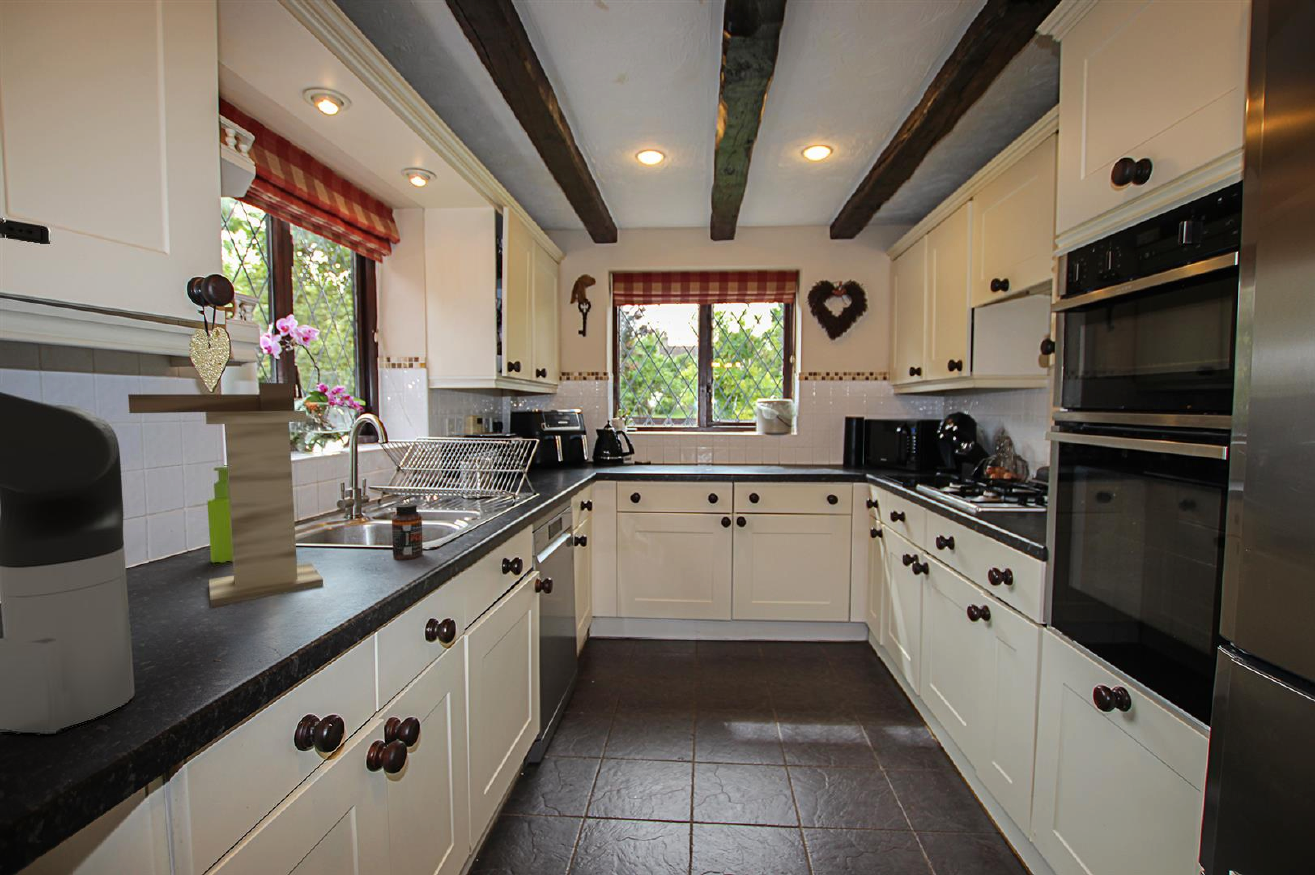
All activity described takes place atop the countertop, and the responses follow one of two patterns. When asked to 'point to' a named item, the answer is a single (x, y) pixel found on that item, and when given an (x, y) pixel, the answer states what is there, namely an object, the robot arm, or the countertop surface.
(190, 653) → the countertop surface
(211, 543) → the soap dispenser
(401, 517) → the supplement bottle
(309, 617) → the countertop surface
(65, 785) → the countertop surface
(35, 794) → the countertop surface
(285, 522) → the oak stand
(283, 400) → the walnut bar
